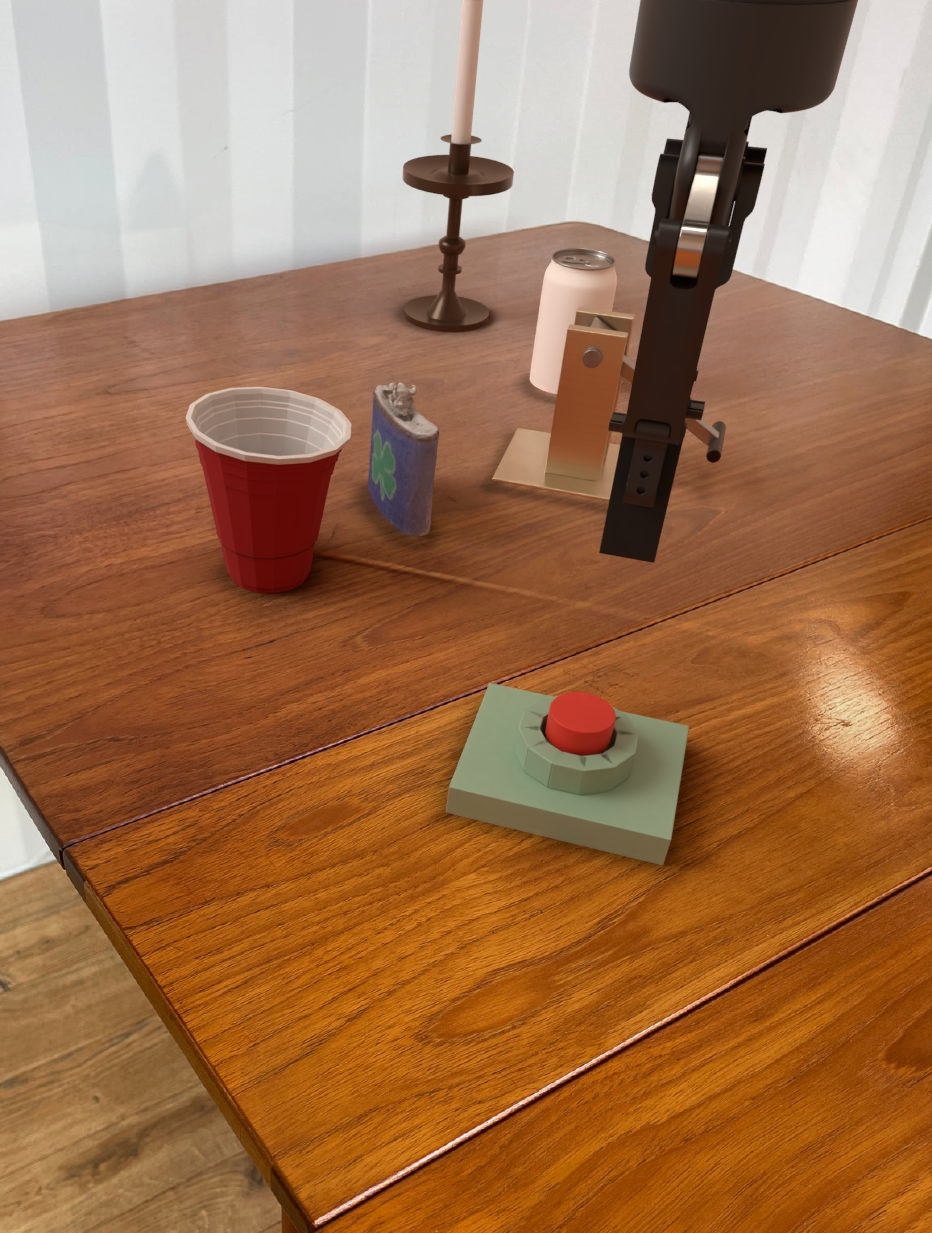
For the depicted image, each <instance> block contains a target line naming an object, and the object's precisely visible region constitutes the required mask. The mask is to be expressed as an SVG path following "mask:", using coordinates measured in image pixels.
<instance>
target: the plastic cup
mask: <svg viewBox="0 0 932 1233" xmlns="http://www.w3.org/2000/svg"><path fill="white" fill-rule="evenodd" d="M185 422H186V425H187V427H188V428H189V431H190V432H191V434H192V436H193V438H194V442H195V448H196V449H197V452H198V457H199V463H200V465H201V467H202V471H203V476H204V480H205V485H206V489H207V494H208V498H209V499H208V500H209V503H210V507H211V512H212V516H213V521H214V525H215V530H216V535H217V537H218V539H219V543H220V546H221V551H222V555H223V560H224V565H225V569H226V571H227V572H228V575H229V577H230V579H231V580H232V582H233V583H234V584H236V585H237V586H239V587H240V588H242V589H243V590H247V591H251V592H254V593H257V594H277V593H284V592H289V591H292V590H293V589H296V588H298V587H299V586H302V585H303V583H305V581H306V580H307V579H308V577H309V574H310V573H311V569H312V564H313V559H314V553H315V549H316V548H315V547H316V542H318V539H319V534H320V530H321V524H322V520H323V515H324V512H325V506H326V501H327V496H328V492H329V487H330V482H331V477H332V476H333V474H334V471H335V467H336V463H337V462H338V461H339V457H340V453H341V452H342V450H343V449H344V447H346V446H347V445H348V444H349V442H350V440H351V437H352V422H351V421H350V420H349V418H347V416H346V415H345V414H344V412H343V411H342V410H341V409H339V408H337V407H336V406H334V405H332V404H330V403H329V402H327V401H324V400H323V399H321V398H319V397H315V396H312V395H308V394H305V393H301V392H299V391H295V390H293V389H291V390H290V389H283V388H274V387H266V386H244V387H243V386H242V387H241V386H240V387H228V388H225V389H221V390H217V391H212V392H209V393H206V394H204V395H202V396H201V397H199V398H198V399H196V400H194V401H193V402H191V403H190V404H189V406H188V409H187V412H186V415H185Z"/></svg>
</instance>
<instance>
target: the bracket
mask: <svg viewBox="0 0 932 1233" xmlns="http://www.w3.org/2000/svg"><path fill="white" fill-rule="evenodd" d="M595 317H597V318H598V319H600V320H601V321H602V322H603V323H604V324H606V325H607V326H608V327H609V328H611V329H612V330H606V329H599V328H592V327H588V326H589V324H590V323H591V322H592V321H593V319H594V318H595ZM635 318H636V314H633V313H625V312H620V311H619V312H618V311H613V310H612V311H605V310H598V309H591V308H584V307H578V309H577V311H576V317H575V323H574V325H572V324H570V325H569V327H568V329H567V335H566V341H565V348H564V354H563V360H562V367H561V373H560V379H559V385H558V392H557V394H556V398H555V405H554V410H553V418H552V424H551V431H550V432H545V431H539V430H532V429H527V428H521V427H517V428H516V430H515V432H514V434H513V436H512V438H511V439H510V442H509V444H508V446H507V448H506V450H505V451H504V453H503V456H502V458H501V459H500V462H499V464H498V466H497V468H496V469H495V472H494V474H493V476H492V478H491V481H492V482H497V483H503V484H509V485H513V486H514V485H515V486H520V487H526V488H531V489H536V490H542V491H548V492H554V493H559V494H560V493H561V494H565V495H570V496H577V497H582V498H587V499H593V500H598V501H599V500H600V501H605V502H609V500H610V495H611V490H612V484H613V479H614V474H615V469H616V464H617V459H618V454H619V449H620V444H617V443H611V439H612V436H613V435H612V434H613V432H612V431H608V428H609V422H610V419H611V417H612V414H613V412H617V409H618V404H619V400H620V395H621V388H622V384H623V379H624V378H623V377H622V376H621V375H620V373H621V368H622V363H623V358H624V355H625V356H626V357H627V358H628V353H629V349H630V344H631V338H632V334H633V328H634V323H635Z"/></svg>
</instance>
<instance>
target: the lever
mask: <svg viewBox="0 0 932 1233" xmlns="http://www.w3.org/2000/svg"><path fill="white" fill-rule="evenodd" d="M588 327H592V328H599V329H606V330H612V329H611V328H609V327H608V326H607V325H606V324H604V323H603V322H602V321H601V320H600V319H598V318H597V317H595V318H594V319H593V321H592V322H591V323H590V324H589V326H588ZM635 365H636V362H635V363H634V362H633V360H631V359H630V358H629V357H628V356H627V357H626V356H625V355H624V358H623V363H622V368H621V373H620V375H621V376H622V377H623V379H624V380H626V381H627V382H628V383H629V384H630V385H632V381H633V376H634V370H635ZM685 420H686V423H687V429H686V431H688V432H690V433H691V434H692V435H694V436H695V437H696V438H697V439H698V440H699V441H701V442H702V443H703V444H704V445H706V446H707V449H706V455H705V457H706V460H707V462H709V463H711V464H714V463H715V464H716V463H717V462H719V461H720V460H721V457H722V454H723V447H724V441H725V435H726V430H727V426H726V424H725V422H723V421H721V420H719V421H715V422H714V423H712V425H710V423H708V422H707V421H706V420H704V419H703V418H702V419H701V420H694V419H688V418H685Z"/></svg>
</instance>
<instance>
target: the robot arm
mask: <svg viewBox="0 0 932 1233" xmlns="http://www.w3.org/2000/svg"><path fill="white" fill-rule="evenodd" d="M858 2H859V0H639V6H638V13H637V20H636V25H635V32H634V36H633V37H634V38H633V43H632V51H631V56H630V61H629V63H630V64H629V68H628V76H629V80H630V83H631V85H632V86H633V87H634V89H635V90H636V91H637V92H639V93H640V94H642V95H643V96H645V97H647V98H650V99H651V100H655V101H658V102H661V103H664V104H668V103H678V104H680V105H681V106H683V107H684V108H685V109H686V110H687V111H688V118H687V122H686V127H685V130H684V135H683V139H678V138H666V141H665V145H664V149H663V153H660V154H659V157H658V161H657V166H656V171H655V176H654V181H653V187H652V193H651V202H652V203H651V204H652V205H653V208H654V216H653V220H652V227H651V232H650V236H649V243H648V247H647V254H646V258H645V264H644V271H645V272H646V274H647V276H648V277H650V283H649V287H648V288H649V289H648V293H647V298H646V300H647V301H646V303H645V310H644V315H643V321H642V325H641V326H642V327H641V332H640V338H639V342H638V343H639V344H638V349H637V353H636V359H635V364H636V365H635V370H634V376H633V381H632V384H631V388H630V392H629V398H628V404H627V409H626V412H625V413H624V412H618V411H616V412H613V414H612V417H611V419H610V422H609V428H608V431H612V433H619V434H621V439H620V444H619V445H620V449H619V454H618V459H617V464H616V469H615V474H614V479H613V484H612V490H611V495H610V500H609V501H608V505H607V511H606V514H605V515H606V516H605V520H604V526H603V531H602V536H601V540H600V547H599V552H598V553H599V554H602V555H608V556H612V557H618V558H619V557H620V558H624V559H629V560H636V561H641V562H647V563H653V564H654V563H655V561H656V558H657V553H658V549H659V544H660V540H661V536H662V532H663V531H662V530H663V527H664V523H665V519H666V515H667V510H668V506H669V501H670V497H671V493H672V489H673V485H674V481H675V476H676V472H677V469H678V468H677V467H678V463H679V459H680V455H681V450H682V447H683V442H684V438H685V437H686V434H687V433H686V432H687V423H686V420H685V418H688V419H694V420H701V419H703V416H704V411H705V406H706V401H704V400H696V399H692V397H691V395H692V391H693V387H694V386H695V385H694V384H695V382H697V380H698V377H699V376H698V375H699V370H698V365H699V361H700V357H701V353H702V349H703V348H702V347H703V344H704V340H705V335H706V331H707V327H708V322H709V319H710V314H711V309H712V307H713V306H712V305H713V301H714V297H715V293H716V290H717V289H718V288H720V287H722V286H724V285H726V284H727V283H728V282H729V281H730V279H731V277H732V275H733V270H734V267H735V266H734V265H735V262H736V257H737V253H738V249H739V245H740V242H741V236H742V233H743V229H744V224H745V221H746V219H747V218H748V217H749V216H750V215H751V214H752V213H753V211H754V210H755V207H756V202H757V199H758V195H759V191H760V187H761V182H762V179H763V178H762V177H763V174H764V170H765V166H766V164H765V160H766V156H767V152H768V148H767V147H760V146H750V145H749V144H750V141H748V136H749V132H750V128H751V123H752V119H753V117H754V116H756V115H758V114H761V113H763V112H766V111H767V112H772V113H774V112H775V113H778V114H788V113H797V112H802V111H806V110H809V109H813V108H815V107H817V106H819V105H821V104H823V103H824V102H825V101H827V99H829V97H830V96H831V95H832V94H833V92H834V90H835V87H836V84H837V80H838V77H839V73H840V69H841V65H842V61H843V59H844V55H845V50H846V48H847V44H848V39H849V36H850V32H851V28H852V24H853V21H854V17H855V13H856V9H857V6H858Z"/></svg>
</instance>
